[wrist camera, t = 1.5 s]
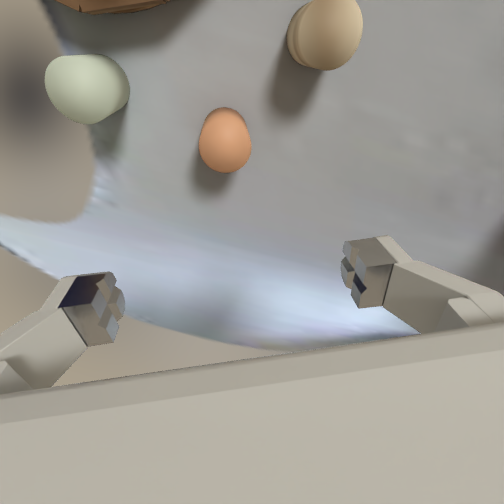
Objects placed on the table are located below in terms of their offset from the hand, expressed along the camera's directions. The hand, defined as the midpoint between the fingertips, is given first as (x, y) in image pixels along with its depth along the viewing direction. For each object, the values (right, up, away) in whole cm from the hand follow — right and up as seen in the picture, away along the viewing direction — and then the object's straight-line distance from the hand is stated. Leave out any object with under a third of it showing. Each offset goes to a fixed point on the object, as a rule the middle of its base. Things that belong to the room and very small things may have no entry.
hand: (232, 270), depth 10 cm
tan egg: (+5, +18, +12) cm, 22 cm away
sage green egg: (-11, +14, +13) cm, 22 cm away
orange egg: (-2, +12, +16) cm, 20 cm away
